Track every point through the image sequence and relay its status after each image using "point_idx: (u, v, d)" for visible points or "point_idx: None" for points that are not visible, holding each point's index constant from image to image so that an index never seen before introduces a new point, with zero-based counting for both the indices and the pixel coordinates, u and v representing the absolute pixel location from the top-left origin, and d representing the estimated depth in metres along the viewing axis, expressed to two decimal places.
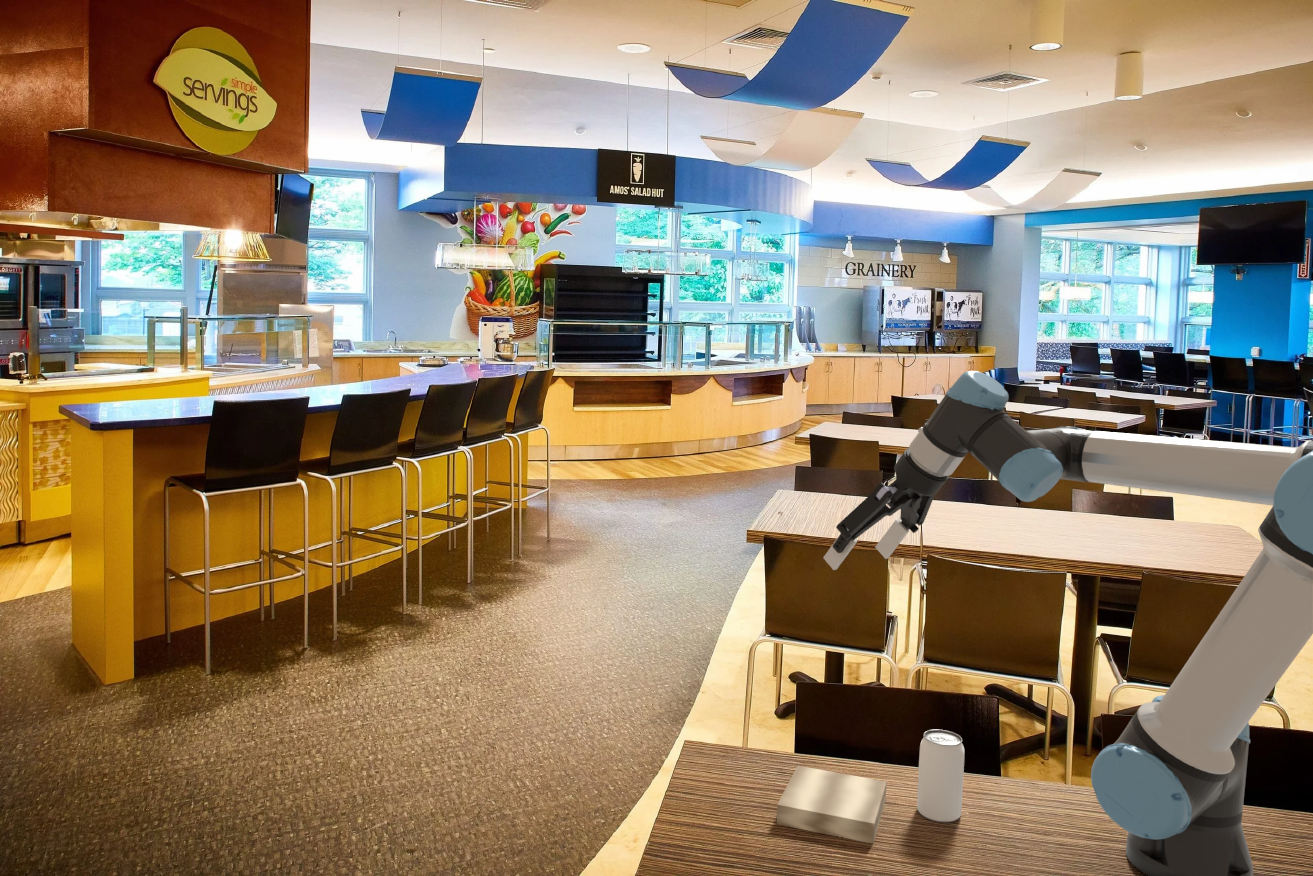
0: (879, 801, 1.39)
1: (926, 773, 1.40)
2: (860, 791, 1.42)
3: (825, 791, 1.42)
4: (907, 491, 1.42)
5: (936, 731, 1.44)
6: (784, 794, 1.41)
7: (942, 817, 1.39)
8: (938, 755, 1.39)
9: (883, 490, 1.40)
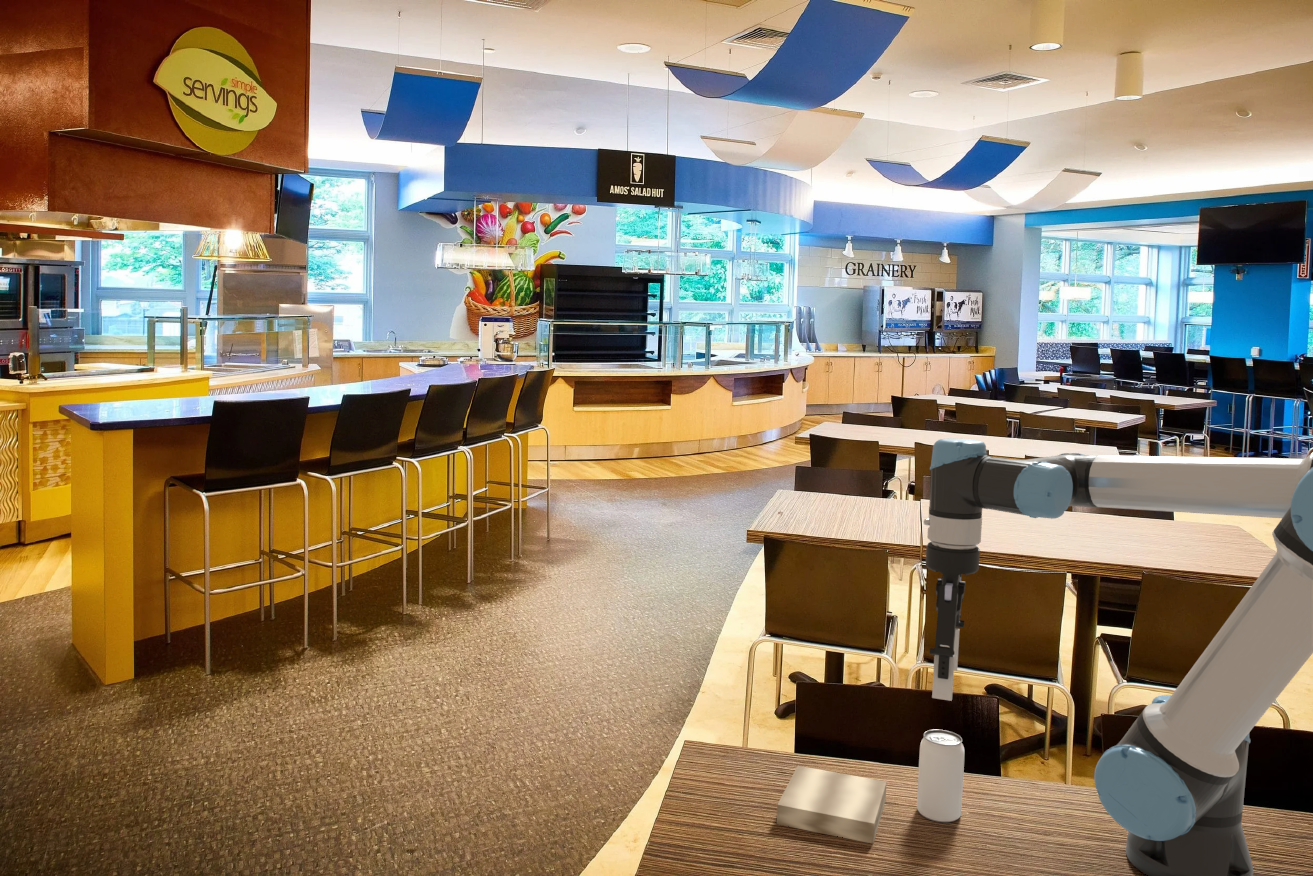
0: (879, 801, 1.39)
1: (926, 773, 1.40)
2: (860, 791, 1.42)
3: (825, 791, 1.42)
4: (958, 580, 1.37)
5: (936, 731, 1.44)
6: (784, 794, 1.41)
7: (942, 817, 1.39)
8: (938, 755, 1.39)
9: (948, 588, 1.33)
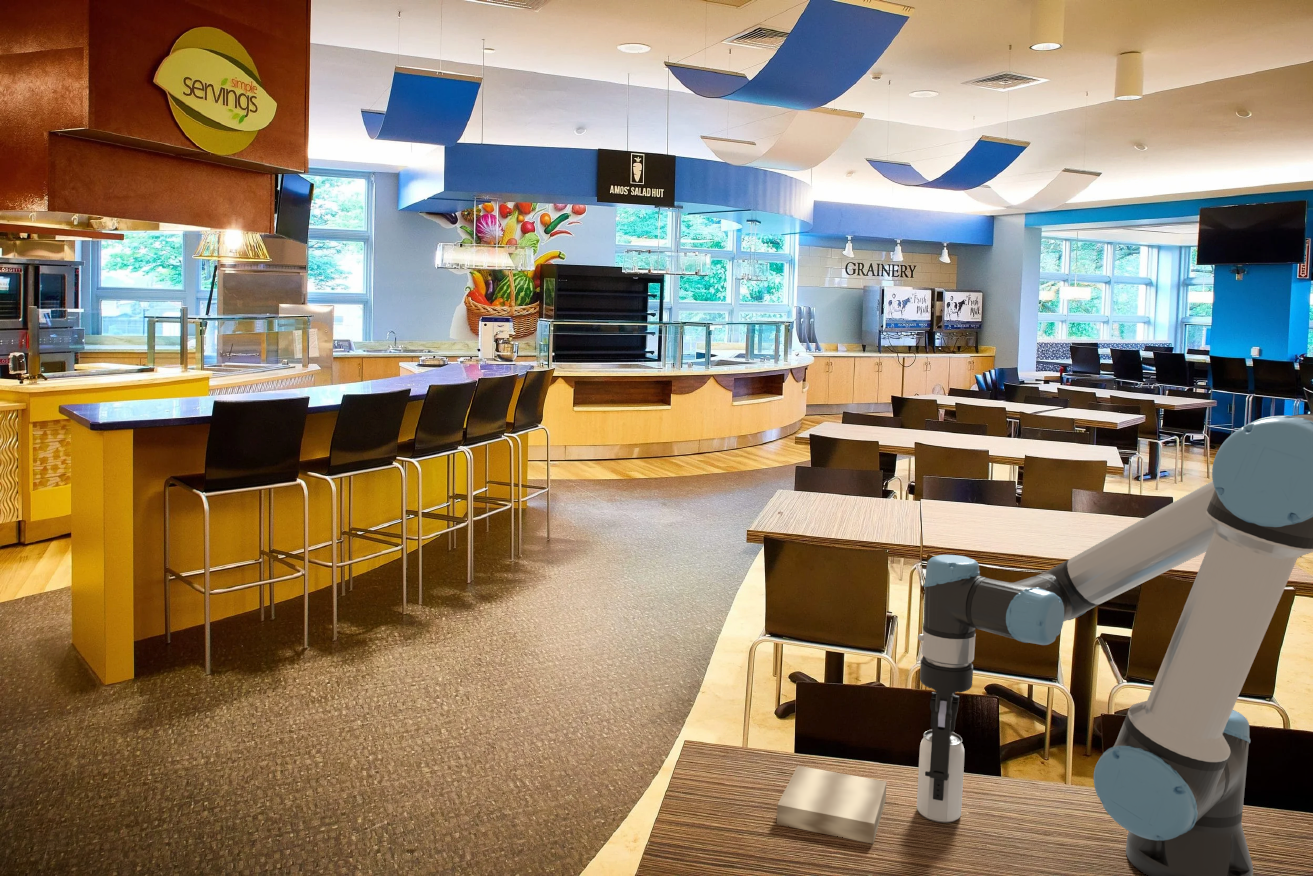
0: (879, 801, 1.39)
1: None
2: (860, 791, 1.42)
3: (825, 791, 1.42)
4: (952, 696, 1.38)
5: None
6: (784, 794, 1.41)
7: None
8: None
9: (941, 718, 1.35)
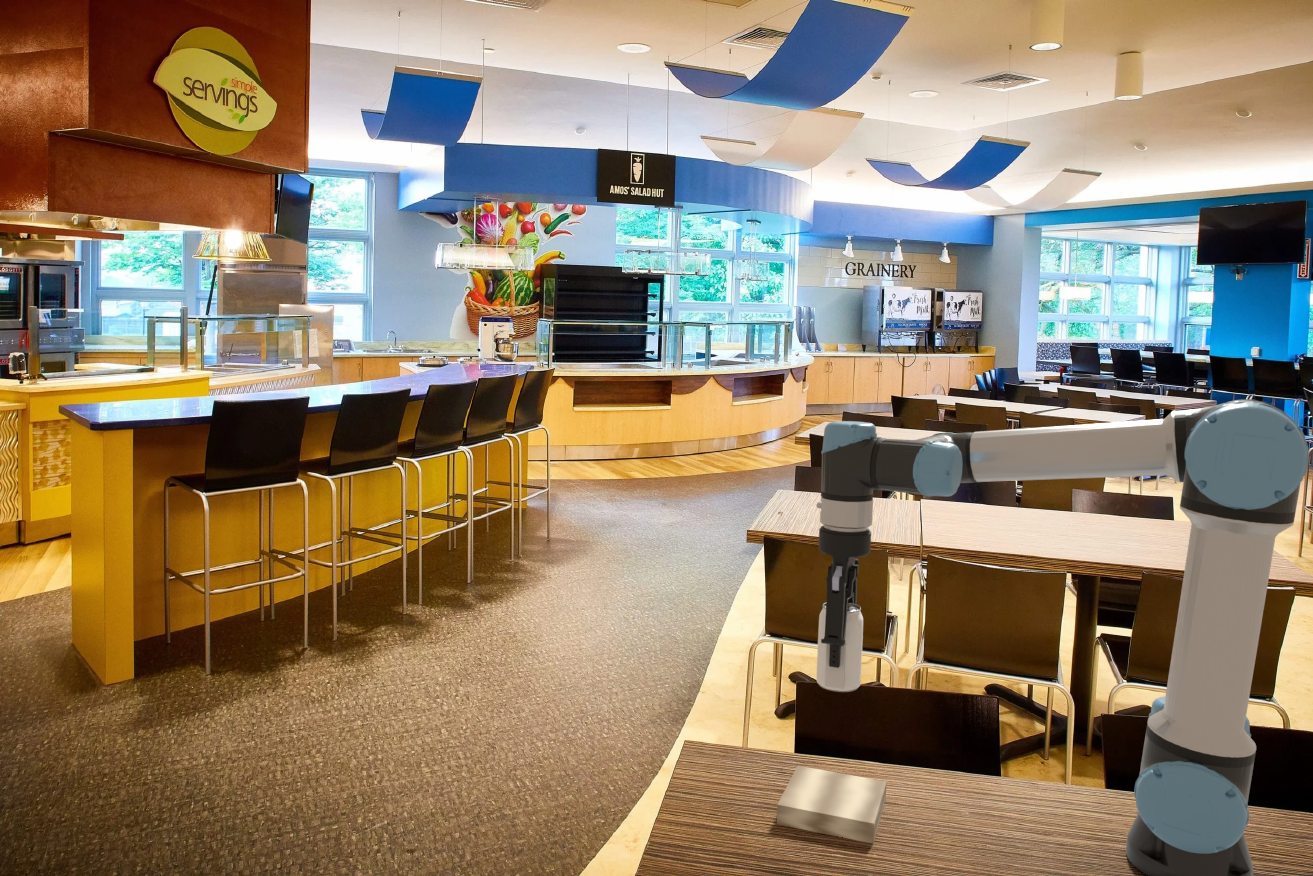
0: (879, 801, 1.39)
1: None
2: (860, 791, 1.42)
3: (825, 791, 1.42)
4: (848, 561, 1.36)
5: None
6: (784, 794, 1.41)
7: None
8: None
9: (835, 580, 1.32)
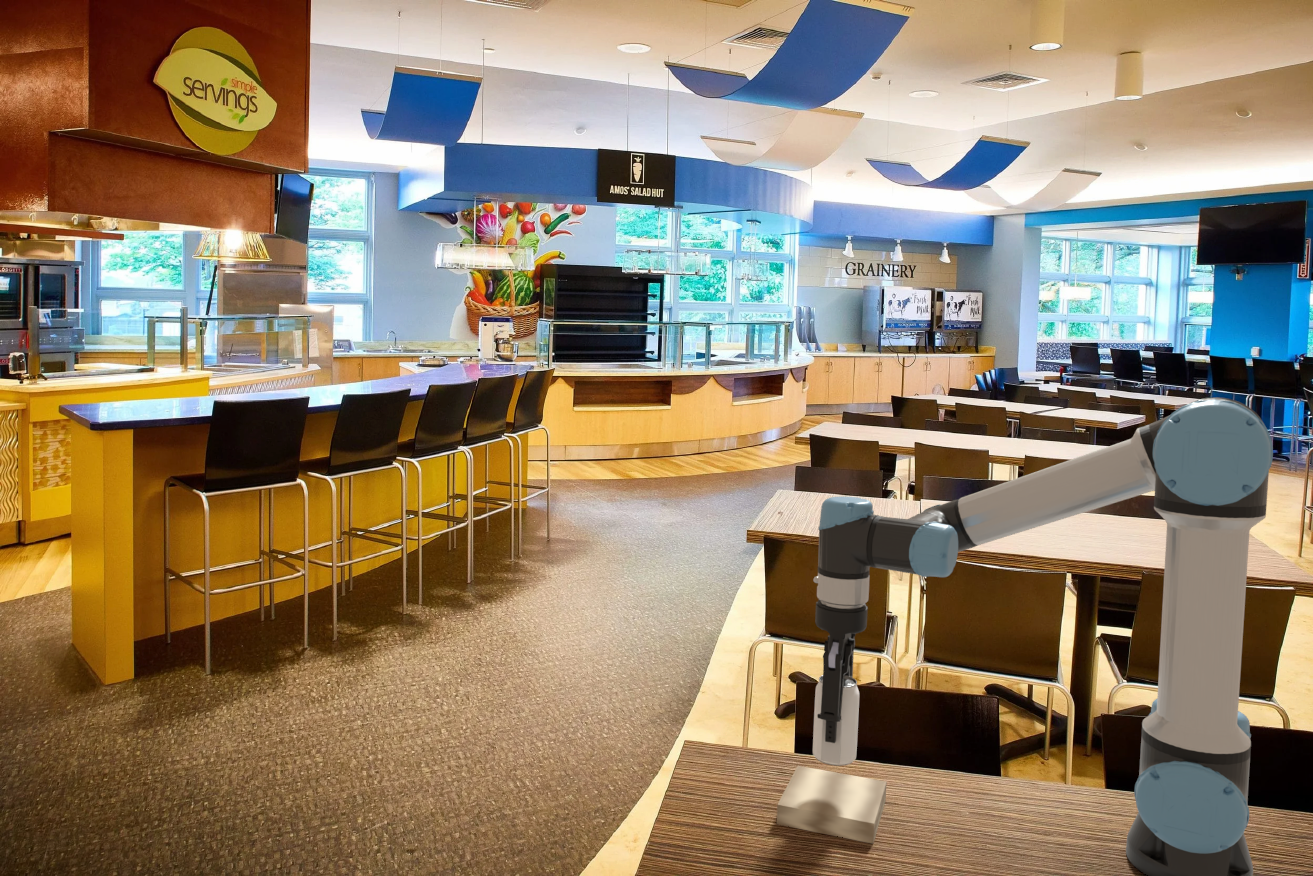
0: (879, 801, 1.39)
1: None
2: (860, 791, 1.42)
3: (825, 791, 1.42)
4: (845, 638, 1.37)
5: None
6: (784, 794, 1.41)
7: None
8: None
9: (832, 658, 1.33)
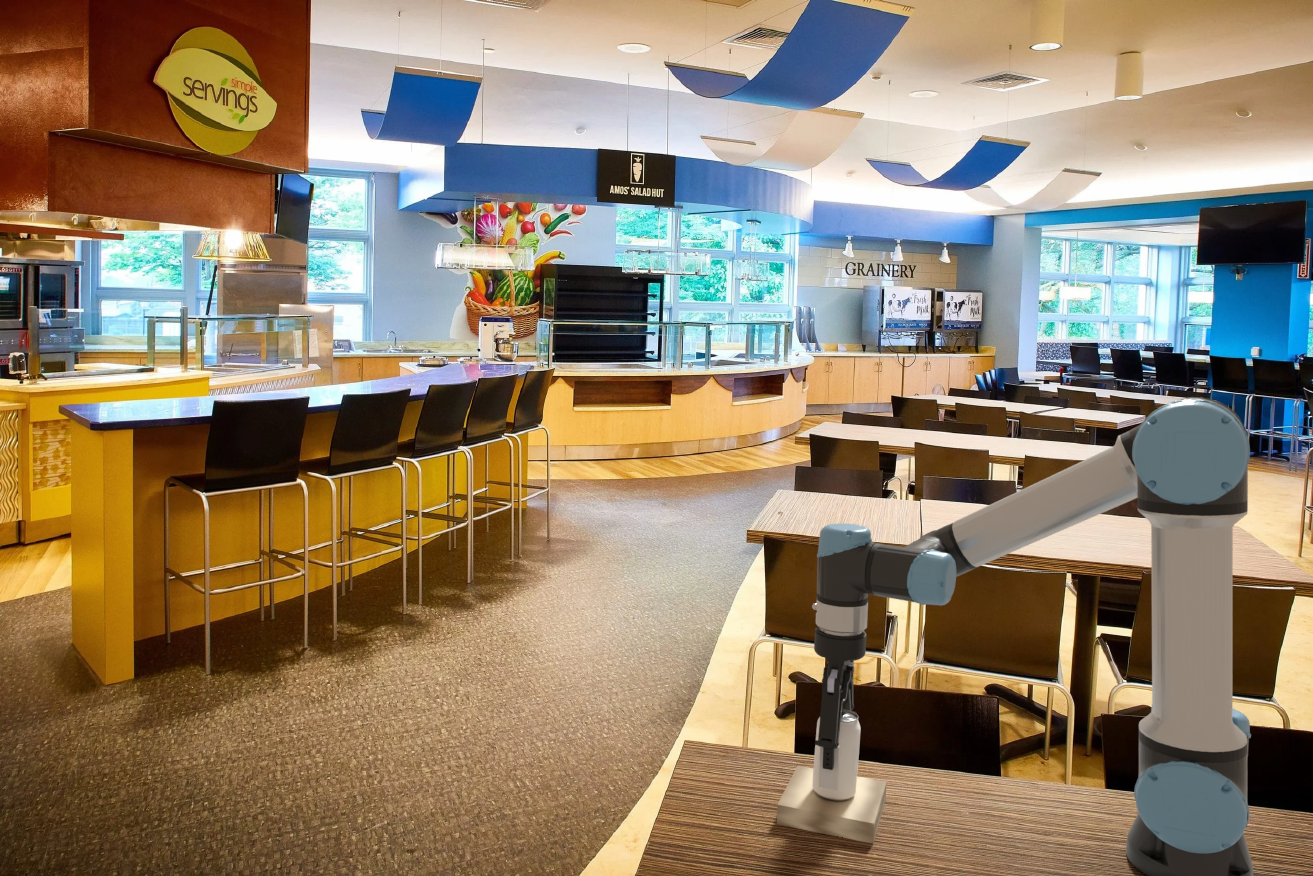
0: (879, 801, 1.39)
1: None
2: (860, 791, 1.42)
3: None
4: (844, 665, 1.37)
5: None
6: (784, 794, 1.41)
7: (835, 795, 1.38)
8: None
9: (831, 682, 1.34)
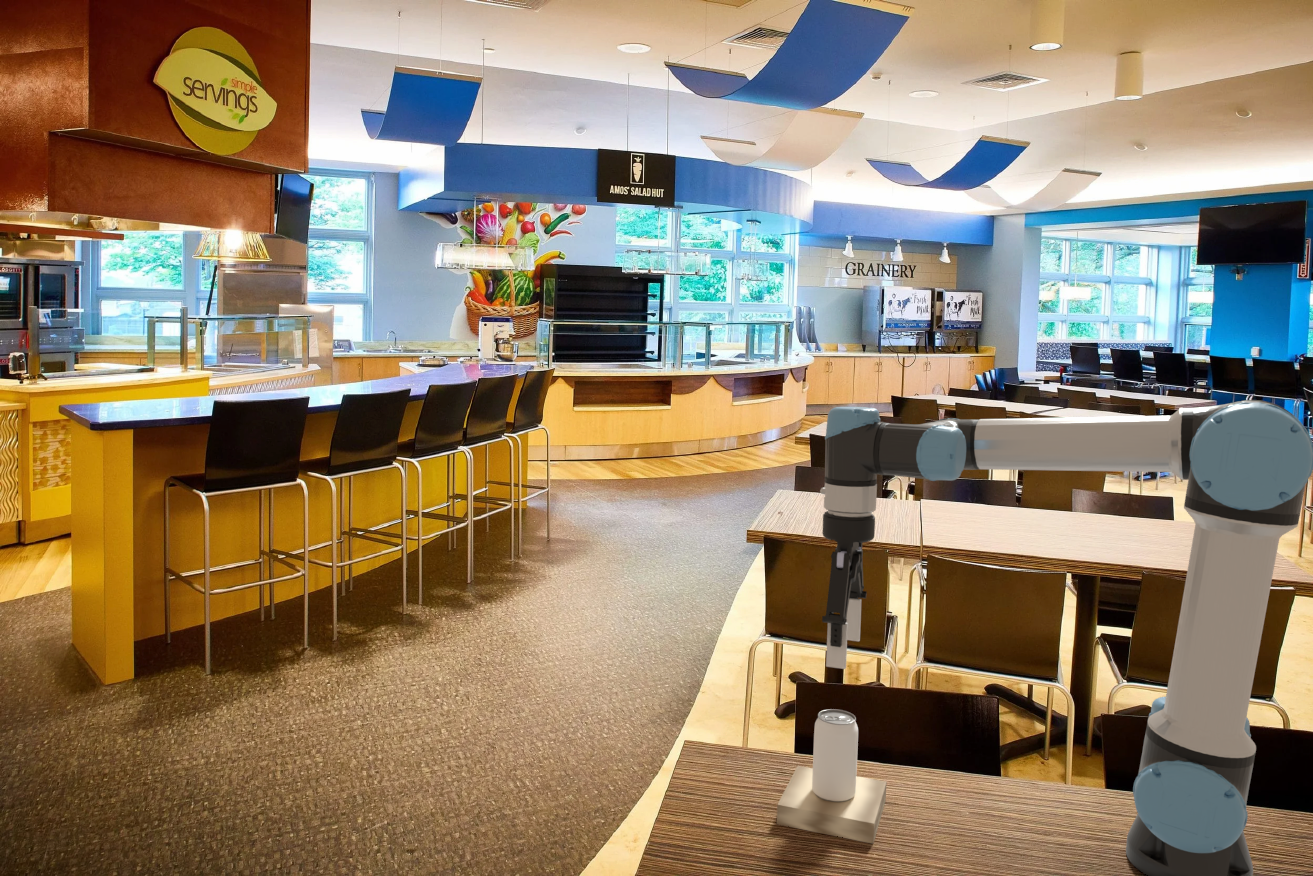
0: (879, 801, 1.39)
1: (819, 753, 1.39)
2: (860, 791, 1.42)
3: None
4: (853, 548, 1.36)
5: (832, 711, 1.43)
6: (784, 794, 1.41)
7: (834, 797, 1.38)
8: (829, 734, 1.38)
9: (840, 555, 1.32)
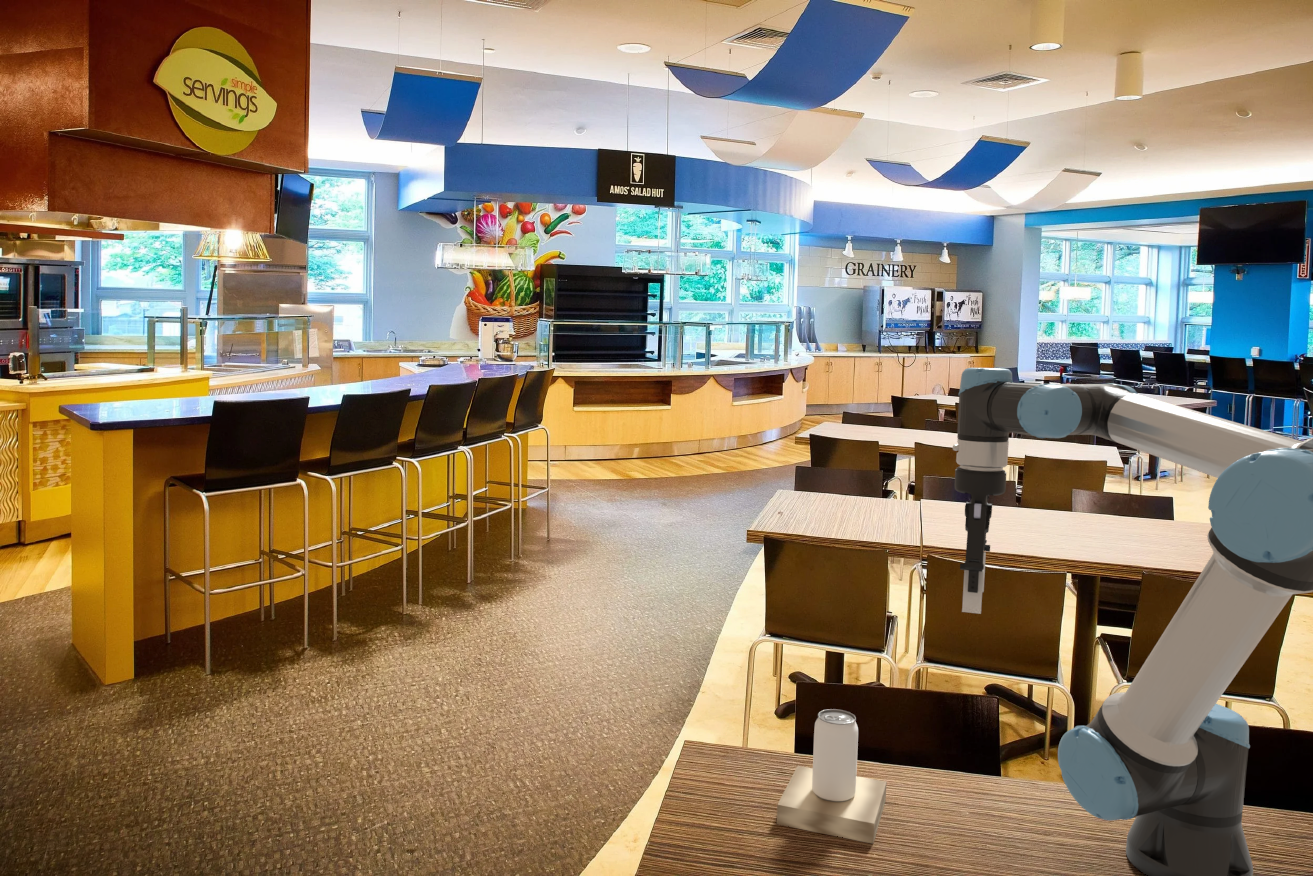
0: (879, 801, 1.39)
1: (819, 752, 1.39)
2: (860, 791, 1.42)
3: None
4: None
5: (832, 711, 1.43)
6: (784, 794, 1.41)
7: (834, 797, 1.38)
8: (829, 734, 1.38)
9: (977, 506, 1.40)
